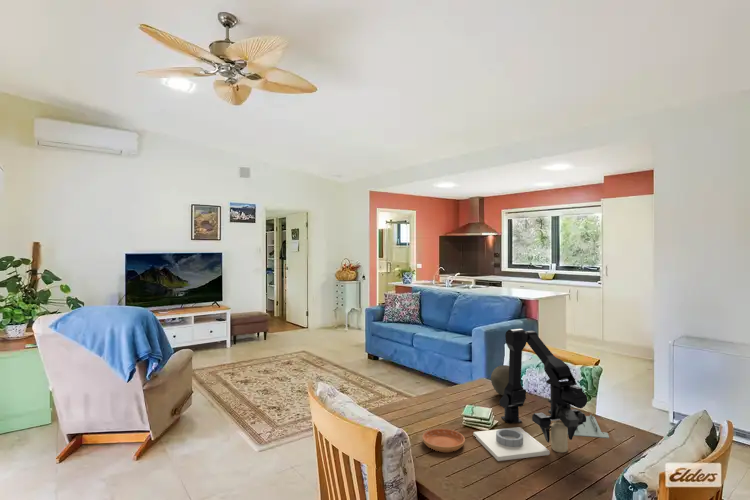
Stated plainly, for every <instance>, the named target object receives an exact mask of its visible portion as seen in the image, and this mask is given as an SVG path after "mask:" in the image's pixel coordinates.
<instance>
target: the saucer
mask: <svg viewBox="0 0 750 500" xmlns="http://www.w3.org/2000/svg"><path fill="white" fill-rule="evenodd" d="M421 438H422V442H423V444H425V445H426V446H427V447H428V448H429V449H430V448H431V449H430V450H432V449H433V450H432V451H434V450H435V452H438V451H439V452H438V453H454V452H456V451H458V450H460V449H461V448H462V447H463V446H464V445H465V443H466V442H465V441H466V438H465V436H464V435H463V434H462V433H460V432H459V431H456V430H453V429H449V428H433V429H429V430H427V431H424V432H423V434H422V436H421ZM453 451H454V452H453Z"/></svg>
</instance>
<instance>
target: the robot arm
mask: <svg viewBox="0 0 750 500" xmlns="http://www.w3.org/2000/svg"><path fill="white" fill-rule="evenodd" d="M538 335H539V334H538V333H537V331H534V330H524V329H523V328H513V329H508V330H507V331H505V344H506V346H507V347H508V349H509V351H508V352H509V358H508V359H509V360H508V366H509V382H508V384H507V386H506V387H505V390H504V396H503V395H502V396H501V398H499V400H498V402H499V406H501V407H502V408H503V409H504V410H503V411H504V416H503V415H502V416H501V417H500V418H501V419H502V420H503V421H504V422H506V423H507V424H508V425H509V424H517V423H522V422H523V420H522V419H521V418H520V412H519V411H520V410H519V409H520V408H519V407H523V406H524V404H525V402H526V399H527V396H526V393H527V390H526V389H525V388H524V387H523V385H522V362H523V361H522V359H523V350H524V349H525V347H526V345H527V344H528V346H529V347H530V349H531V350H532V351H533V352H534V354H535V355H536V356H537V357H538V358H539V360H540V361H541V363H542V364H543V370H544V372H545V374H546V375H547V377H548V379H547V380H546V381H545V383H546V384H548V385H550V387H549V388H550V392H549V393H550V396H549V397H550V398H548V401H547V402H548V403H549V404H550V409H548V414H550V415H546V413H545V414H544V413H543V412H536V413H535V412H534V413H533V414H532V415H531V420H532V422H534V423H535V424H536V425H538V426H539V427H540V429H541V432H542V434H543V437H544V438H545V440H546V442H547V443H550V442H551V424H552V422H554V421H562V422H563V423H564V425H565V426H566V427H567V430H568V434H567V437H568V440H570V441H572V440H573V439H574V436H573V435H574V433H575V431H576V429H577V427H578V426H579V425H581V424H583V422H586V416H587V415H586V414H585V413H584V412H582V411H581V410H580V409H583V408H585V407H586V405H587V404H588V397H587V396H588V395H587V394H586V393H585V392H584V391H583V387H579V386H577V384H578V383H577V381H576V378H575V377H574V376H573V373H572V371H571V369H570V367H569V365H568V364H567V363H565V362H564V361H563V360H562V359H560V358H559V357H556V356H555V355H554V354H553V352H552V351H551V350H550V349H549V348H548V347H547V345H546V344H545V343H544V342H543V341H542V338H540V337H539V336H538ZM571 406H572V407H576V408H575V409H574V408H573V409H571ZM577 408H578V409H579V410H578V409H577Z"/></svg>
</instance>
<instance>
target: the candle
mask: <svg viewBox="0 0 750 500" xmlns="http://www.w3.org/2000/svg"><path fill="white" fill-rule="evenodd" d="M550 426H551V428H550V446H551V447H550V448H551V449H552V451H554V452H557V453H567V452H568V451H569V450H568V442H569V441H568V434H567V430H568V429H567V427H566V426H565V425H564V423H563V422H562V421H561V420H557V421H552V422H551V424H550Z"/></svg>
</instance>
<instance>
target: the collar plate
mask: <svg viewBox="0 0 750 500" xmlns="http://www.w3.org/2000/svg"><path fill="white" fill-rule="evenodd" d="M474 436H475V437H476V438H475V437H474ZM473 437H474V438H475V439H476V440H477V441H478V442H479V444H481V445H482V446H483V448H485V450H487V451H488V452H489V454H490V455H491V456H492V457H494V459H495V460H496V461H498V462H503V461H509V460H519V459H525V458H526V459H528V458H535V457H541V456H543V457H544V456H549V455H550V453H551V451H550V450H549V449H548V448H547V447H546V446H545V445H543V444H542V443H541V442H539V441H538V439H535V438H534V437H533V436H531V435H530V433H528V432H527V431H525V430H524V429H523V428H522V427H520V426H518V427H517V426H516V427H508V428H498V429H490V430H480V431H473Z"/></svg>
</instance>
